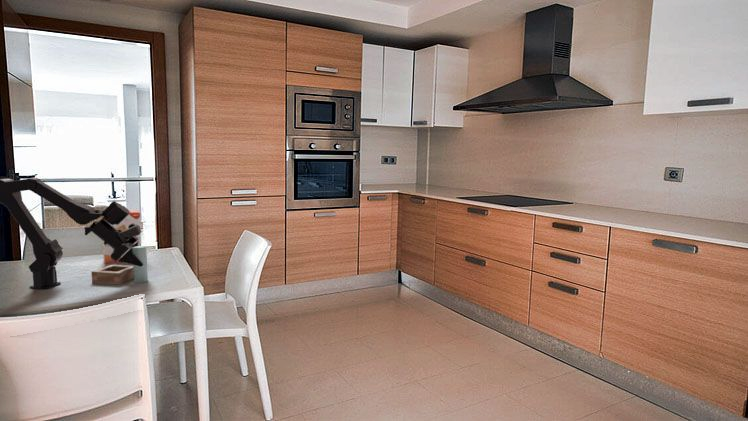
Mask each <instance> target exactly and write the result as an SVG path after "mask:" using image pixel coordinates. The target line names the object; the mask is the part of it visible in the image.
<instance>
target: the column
mask: <svg viewBox="0 0 748 421" xmlns="http://www.w3.org/2000/svg"><path fill="white" fill-rule="evenodd" d="M133 253H134V254H135V255H136V256H137V258H138V259H139V260H140V261H141V262H142V263H143V266H142V267H140V266H137V265H133V264H132V266H133V270H134V278H133V283H136V284H138V283H139V284H140V283H142V284H143V283H146V282H148V281H149V277H148V272H149V271H148V252H147V246H146V245H145V246H144V245H141V246H136V247H133Z"/></svg>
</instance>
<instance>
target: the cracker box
mask: <svg viewBox="0 0 748 421" xmlns="http://www.w3.org/2000/svg"><path fill="white" fill-rule="evenodd" d="M129 212H130V214H129V215H128V216H127V217H126V218H125V219H124V220H123V221H122V222H121V223H120V224H119V225H116V224H114V225H112V226H113V227H114V228H115V229H117V230H118V229H120V230H122V231H124V230H126V229H128V226H129V225H130V224H133V223H134V224H135V225H138V226H140V229H141V212H140V211H138V210H129ZM102 218H103V216H102V217H101V219H102ZM104 220H105V219H104ZM105 221H106V220H105ZM109 224H110V223H109ZM110 225H111V224H110ZM141 230H142V229H141ZM141 235H142V234H139V235H137V236H136V237H137V238H139V239H138V240H137V241H136V242H135V243H137V242H138V241H139V246H142V236H141ZM103 243H104V241H102V249H103V250H102V251H103V253H102V254H103V261H104V264H110V263H120V262H121V261H120V262H119V261H118V260H119V259H120V258H121V257H120V258H119V259H118V260H117V261H116V262H115V261H114V260H113V259H111V254H112V253H113V250H114V249H113V248H111V247H110V246H109V245H108V244H106V245H105V244H103ZM121 263H122V262H121Z"/></svg>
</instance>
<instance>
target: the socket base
mask: <svg viewBox="0 0 748 421" xmlns="http://www.w3.org/2000/svg"><path fill="white" fill-rule="evenodd" d="M130 280H134V270H133V265H131V264H130V265H126V264H110V265H107V266H104V267H100V268H98V269H96V270H92V271H91V283H92V284H106V285H107V284H110V285H121V284H124V283H125V282H128V281H130Z"/></svg>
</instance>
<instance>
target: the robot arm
mask: <svg viewBox="0 0 748 421" xmlns="http://www.w3.org/2000/svg"><path fill="white" fill-rule="evenodd" d="M23 191H31V192H32V193H34V194H35V195H37V196H39V197H41V198H43V199H44V200H46V201H48V202H49V203H50V204H52V205H54V206H56V207H57V208H59V209H61V210H62V211H64V212H65V213H66V214H67V216H68V217H69V218H71V220H72V221H74V222H75V223H76V224H78V225H81V226H84V225H89V224H90V223H91V224H90V225H89V226H85V227H84V235H85V236H87V235H89V234H91V233H93V234H94V235H95V236H96V237H97V238H98V239H100V240H101V241H102V245H103V244H105V245H106V244H108V245H109V246H110V247H111V248H113V249H114V250H113V253H112V254H111V259H113V260H114V261H115V262H114V263H117V262H116V261H117V260H118V259H119V258H120V257H121V258H120V259H119V260H118V261H119V262H118V263H120V261H121V263H126V264H130V265H132V266H133V265H137V266H140V267H142V266H143V263H142V262H141V261H140V260H139V259H138V258H137V256H136V255H135V254H134V253H133V247H136V246H139V241H138V242H137V243H135V242H136V241H137V240H138V239H139V238H137V237H136V236H137V235H139V234H141V233H143V231H142V229H140V228H141V225H140V226H138V225H135V224H134V223H133V224H130V225H129V226H128V229H126V230H124V231H122V230H120V229H118V230H117V229H115V228H114V227H113V226H112V225H114V224H116V225H119V224H120V223H121V222H122V221H123V220H124V219H125V218H126V217H127V216H128V215H129V214H130V212H129V211H130V210H129V209H128V208H127V207H126V206H125V205H122V204H121V203H119V202H117V201H116V200H113V201H112V202H110V204H109V205H108V206H107V207H106V208H105V209H104V210H100V209H95V208H94V207H93V206H90V205H88V204H85V203H82V202H79V201H76V200H73V199H71V198H70V197H68V196H67V195H65V194H63V193H61V192H60V191H59V190H56V189H55V188H53V187H52V186H50V185H48V184H47V183H45V182H43V181H42V180H41V179H40V178H38V177H30V178H26V179H25V178H24V179H19V180H14V179H12V178H0V204H2V205H3V206H4V207H6V209H7V210H8V211H9V213H10V214H11V215H12V217H13V218H14V220H15V222H17V224H18V225H19V227H20V229H21V230H22V231H23V233H24V235H25V236H26V237H27V239H28V240H29V242H30V244H31V245H32V251H33V255H34V257H35V260H34V261H33V262H32V263H30V264H29V265H28V268H29V271H30V272H31V273H32V283H33V284H32V285H29V289H40V290H42V289H43V290H47V289H50V288H52V287H55V286H58V285H61V284H62V282H59V281H58V276H57V275H58V274H57V273H58V272H57V270H56V266H57V265H58V261H59V262H60V260H61V259H62V258H63V255H64V253H63V247H62V246H61V245H60V244H59V242H58V240H57V239H56V238H55V239H53V240H51V239H50V238H48V237H47V235H46V234H45V233H44V231H43V230H42V228H41V227H40V225H39V223H38V222H37V221H36V219H35V218H34V216H33V214H32V213H31V212H30V210H29V209H28V207H27V206H26V204H25V203H24V201H23V197H22V192H23ZM102 216H103V218H102ZM100 218H101V219H100ZM99 219H100V220H99ZM104 219H105V220H106V221H105V220H104ZM98 220H99V221H98ZM109 223H110V224H111V225H110V224H109ZM141 235H142V234H141ZM103 241H104V243H103Z"/></svg>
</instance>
